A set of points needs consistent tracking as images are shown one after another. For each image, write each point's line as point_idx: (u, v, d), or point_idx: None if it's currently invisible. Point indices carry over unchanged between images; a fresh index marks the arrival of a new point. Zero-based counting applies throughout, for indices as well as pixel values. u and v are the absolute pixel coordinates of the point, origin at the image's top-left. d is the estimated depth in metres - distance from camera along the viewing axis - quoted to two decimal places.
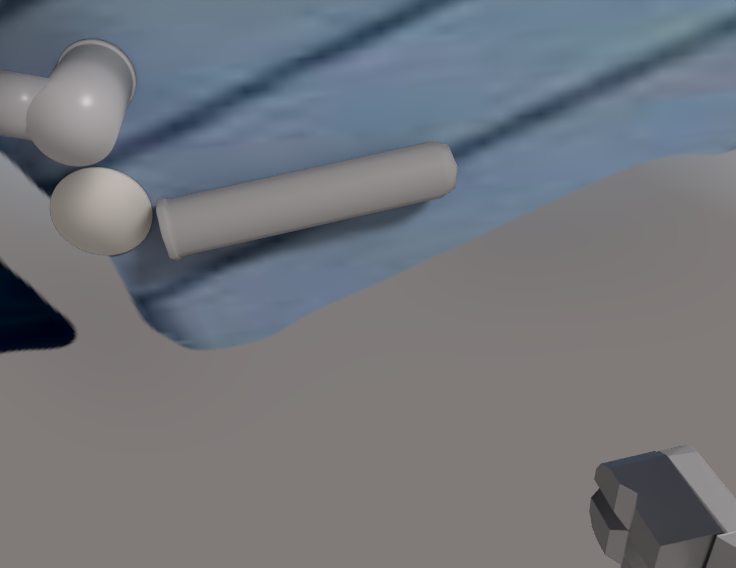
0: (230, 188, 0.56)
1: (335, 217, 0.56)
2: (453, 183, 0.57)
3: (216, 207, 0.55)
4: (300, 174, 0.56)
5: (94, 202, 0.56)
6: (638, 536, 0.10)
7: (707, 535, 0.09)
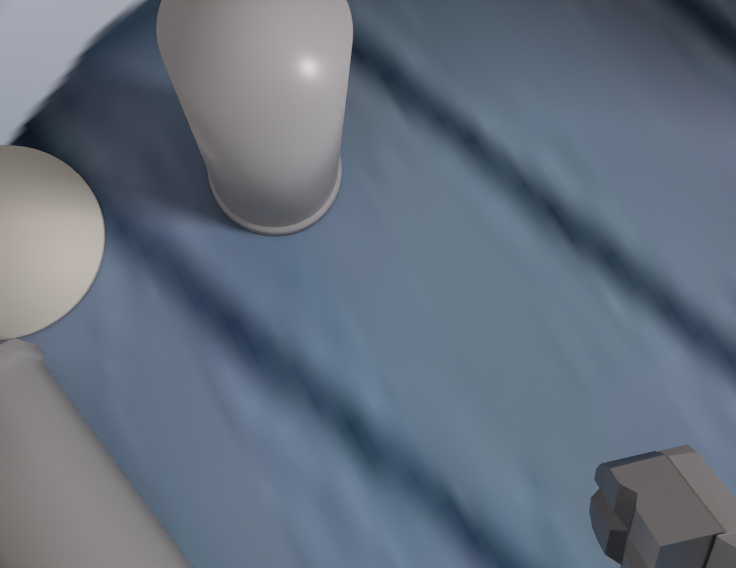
0: (122, 477, 0.24)
1: None
2: None
3: (69, 463, 0.23)
4: None
5: (21, 220, 0.27)
6: (638, 536, 0.10)
7: (707, 535, 0.09)
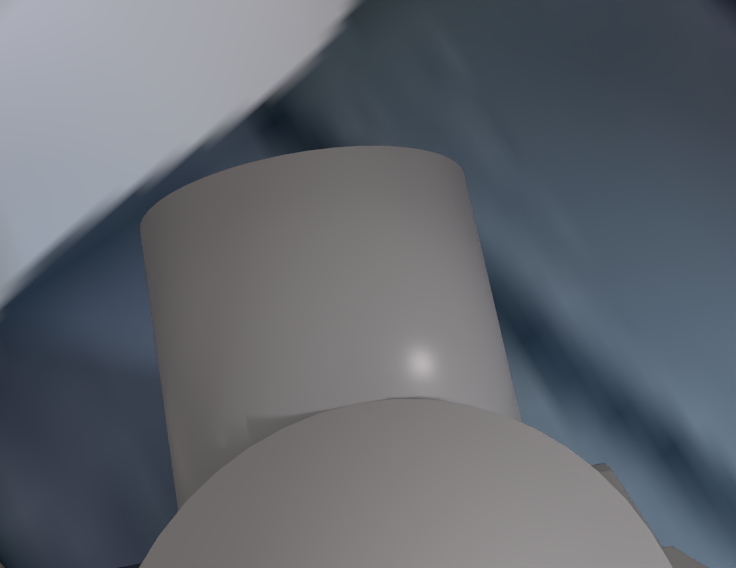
0: None
1: None
2: None
3: None
4: None
5: None
6: None
7: None
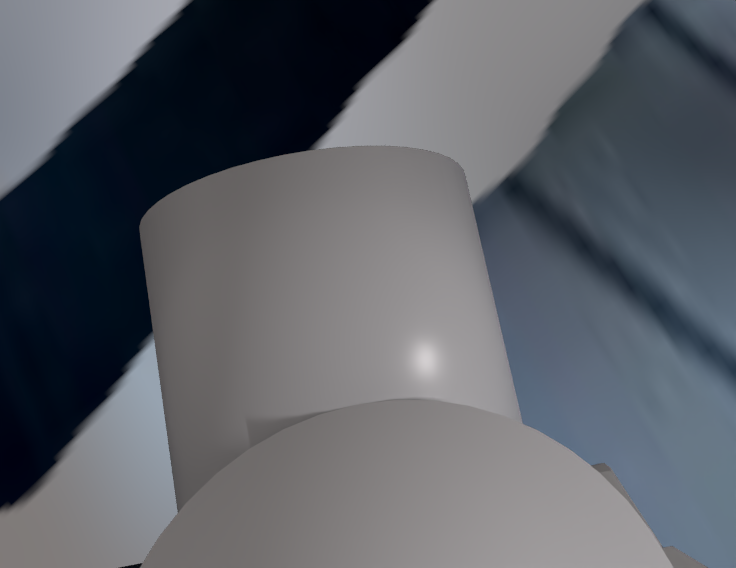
0: None
1: None
2: None
3: None
4: None
5: None
6: None
7: None
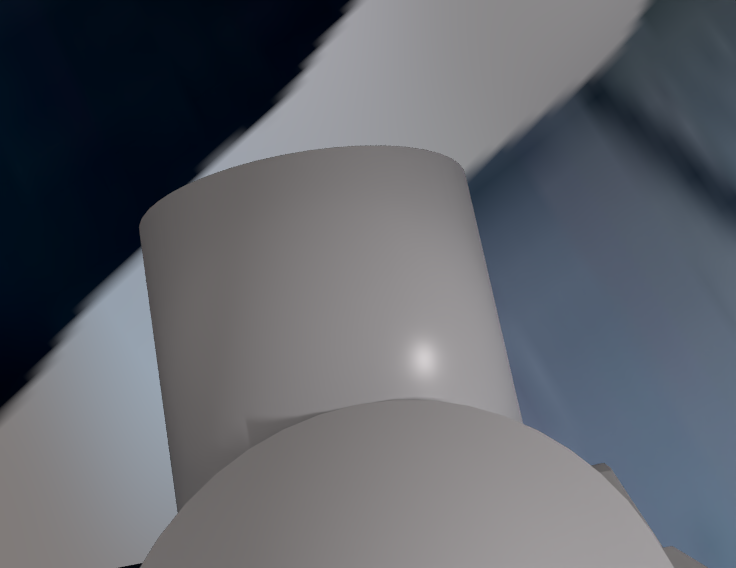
0: None
1: None
2: None
3: None
4: None
5: None
6: None
7: None
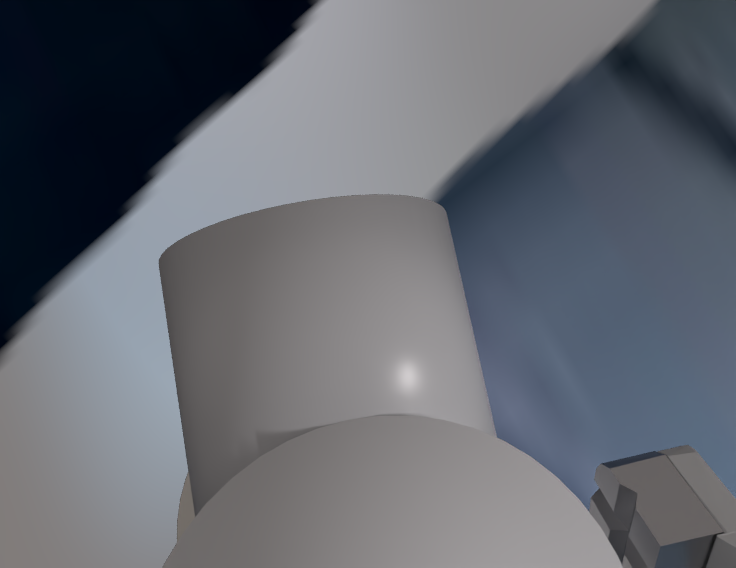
0: None
1: None
2: None
3: None
4: None
5: None
6: (638, 536, 0.10)
7: (707, 535, 0.09)
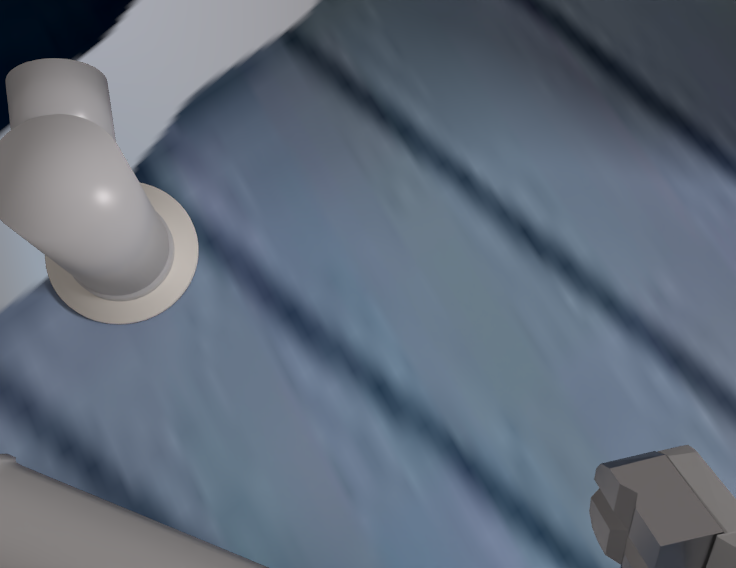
0: (114, 506, 0.33)
1: None
2: None
3: (72, 512, 0.31)
4: (226, 553, 0.33)
5: None
6: (638, 536, 0.10)
7: (707, 535, 0.09)
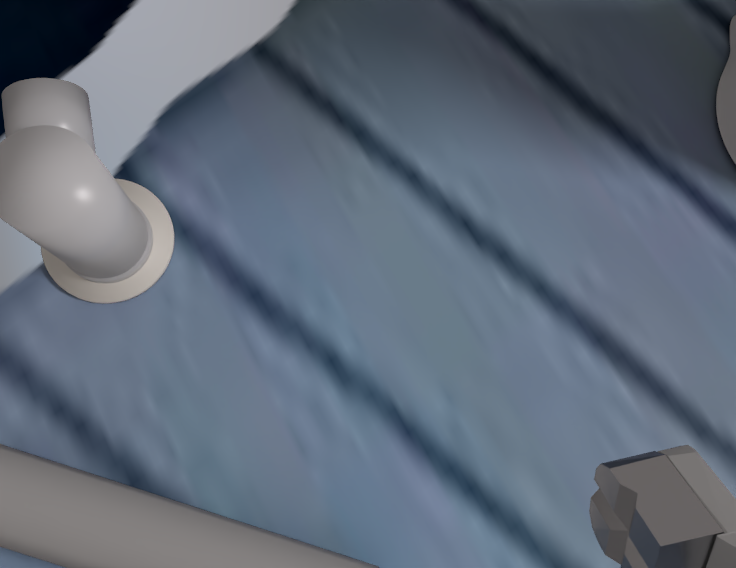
0: (85, 473, 0.38)
1: None
2: None
3: (47, 479, 0.36)
4: (184, 506, 0.38)
5: None
6: (638, 536, 0.10)
7: (707, 535, 0.09)
